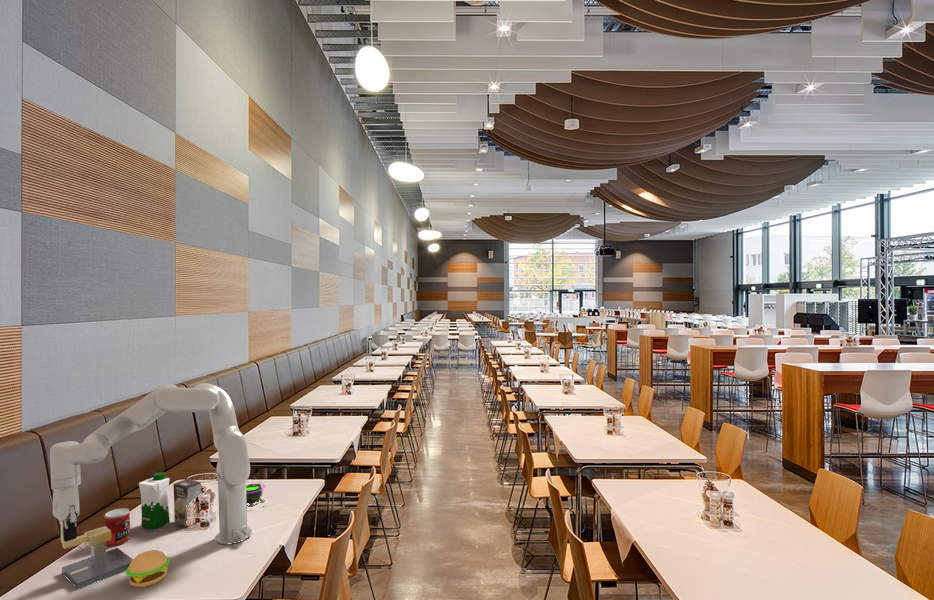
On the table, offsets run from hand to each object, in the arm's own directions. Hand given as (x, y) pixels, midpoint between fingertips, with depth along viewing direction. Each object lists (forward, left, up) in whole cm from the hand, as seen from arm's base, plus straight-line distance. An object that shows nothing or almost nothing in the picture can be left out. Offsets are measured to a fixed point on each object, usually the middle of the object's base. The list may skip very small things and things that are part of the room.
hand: (68, 537), depth 165 cm
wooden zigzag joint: (0, -5, -4) cm, 6 cm away
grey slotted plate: (0, -8, -14) cm, 16 cm away
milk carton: (+21, -33, -14) cm, 42 cm away
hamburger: (-20, -15, -15) cm, 29 cm away
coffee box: (+13, -42, -14) cm, 47 cm away
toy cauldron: (+8, -67, -15) cm, 69 cm away
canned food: (+18, -19, -14) cm, 30 cm away
